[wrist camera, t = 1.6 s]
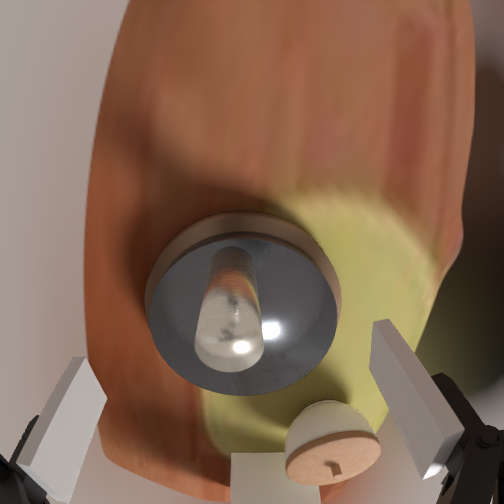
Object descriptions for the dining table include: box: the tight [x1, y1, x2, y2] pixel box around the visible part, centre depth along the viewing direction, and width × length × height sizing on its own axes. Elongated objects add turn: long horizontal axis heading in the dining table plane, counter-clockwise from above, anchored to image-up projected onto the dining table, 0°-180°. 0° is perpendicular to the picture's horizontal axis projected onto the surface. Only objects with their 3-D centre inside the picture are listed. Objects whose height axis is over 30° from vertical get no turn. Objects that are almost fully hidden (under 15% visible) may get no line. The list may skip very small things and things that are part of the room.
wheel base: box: [145, 211, 341, 330], centre depth 28 cm, size 17×17×2 cm
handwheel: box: [150, 231, 337, 396], centre depth 21 cm, size 15×15×11 cm
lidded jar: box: [285, 400, 381, 485], centre depth 31 cm, size 11×11×9 cm
